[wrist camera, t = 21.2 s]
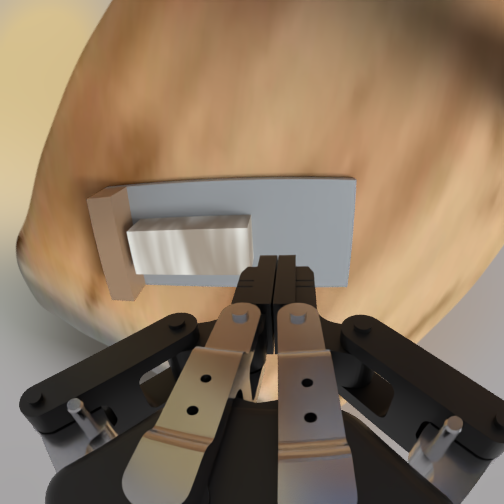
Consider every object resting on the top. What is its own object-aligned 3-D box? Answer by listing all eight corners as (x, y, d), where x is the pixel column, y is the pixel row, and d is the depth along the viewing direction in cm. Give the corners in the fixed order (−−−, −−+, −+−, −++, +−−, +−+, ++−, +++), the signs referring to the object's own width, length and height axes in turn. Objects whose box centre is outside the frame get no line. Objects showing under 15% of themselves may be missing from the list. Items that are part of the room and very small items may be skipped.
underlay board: (354, 177, 25) (365, 189, 21) (345, 282, 29) (352, 305, 26) (107, 186, 27) (86, 199, 24) (127, 279, 31) (111, 299, 28)
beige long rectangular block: (247, 228, 24) (126, 231, 25) (250, 275, 25) (136, 274, 26) (251, 214, 26) (140, 218, 27) (253, 257, 28) (148, 258, 29)
